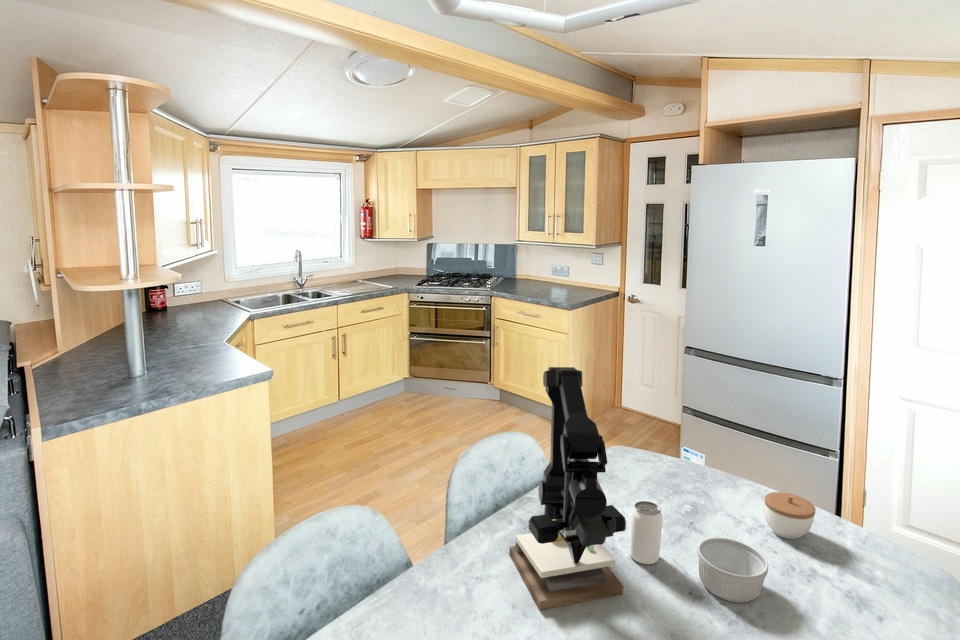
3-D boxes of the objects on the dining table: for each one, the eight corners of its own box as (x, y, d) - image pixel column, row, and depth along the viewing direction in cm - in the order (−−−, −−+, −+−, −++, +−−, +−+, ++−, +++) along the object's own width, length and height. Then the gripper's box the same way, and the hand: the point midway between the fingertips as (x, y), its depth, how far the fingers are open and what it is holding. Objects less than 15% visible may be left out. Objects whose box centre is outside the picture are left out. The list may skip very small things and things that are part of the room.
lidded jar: (798, 521, 140) (803, 487, 138) (819, 546, 129) (825, 510, 128) (754, 518, 141) (758, 484, 139) (771, 543, 130) (776, 506, 129)
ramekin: (759, 573, 120) (763, 544, 118) (769, 615, 108) (773, 583, 106) (694, 560, 124) (696, 531, 123) (695, 598, 112) (699, 567, 110)
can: (660, 567, 121) (664, 517, 119) (629, 563, 122) (633, 513, 120) (657, 549, 127) (661, 501, 125) (627, 546, 128) (631, 498, 126)
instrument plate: (515, 540, 123) (515, 522, 123) (581, 530, 127) (582, 512, 127) (541, 578, 109) (541, 557, 108) (614, 565, 113) (615, 545, 112)
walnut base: (509, 554, 125) (509, 539, 124) (582, 543, 129) (583, 528, 129) (539, 610, 108) (539, 593, 107) (622, 594, 112) (623, 578, 112)
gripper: (550, 517, 99) (547, 596, 102) (643, 504, 104) (638, 579, 107) (528, 488, 110) (526, 560, 113) (613, 477, 115) (609, 546, 118)
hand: (575, 562), depth 112 cm, fingers closed, pressing on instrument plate
